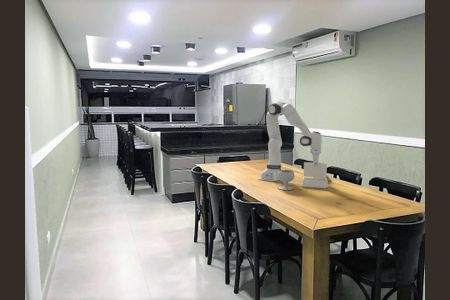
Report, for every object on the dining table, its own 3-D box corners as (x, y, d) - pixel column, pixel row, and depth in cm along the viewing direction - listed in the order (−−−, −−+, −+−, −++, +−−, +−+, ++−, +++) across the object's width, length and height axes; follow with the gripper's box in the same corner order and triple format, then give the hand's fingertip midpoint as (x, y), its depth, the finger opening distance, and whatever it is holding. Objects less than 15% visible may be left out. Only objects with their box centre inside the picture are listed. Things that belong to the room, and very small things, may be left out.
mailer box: (302, 187, 276) (302, 180, 275) (302, 183, 289) (302, 177, 289) (327, 188, 271) (327, 181, 271) (326, 185, 285) (326, 178, 284)
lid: (303, 162, 283) (303, 162, 283) (303, 176, 288) (303, 176, 289) (326, 163, 278) (326, 163, 279) (326, 177, 283) (326, 177, 284)
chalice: (297, 189, 267) (298, 171, 265) (284, 191, 260) (284, 173, 258) (286, 186, 279) (287, 169, 277) (273, 188, 272) (273, 170, 271)
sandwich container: (332, 181, 302) (333, 165, 300) (317, 182, 297) (318, 165, 296) (327, 179, 310) (327, 163, 308) (312, 180, 305) (313, 164, 304)
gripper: (311, 149, 288) (311, 164, 290) (312, 152, 268) (311, 168, 270) (319, 149, 287) (318, 165, 288) (320, 152, 267) (319, 169, 268)
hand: (315, 167), depth 279 cm, fingers closed
